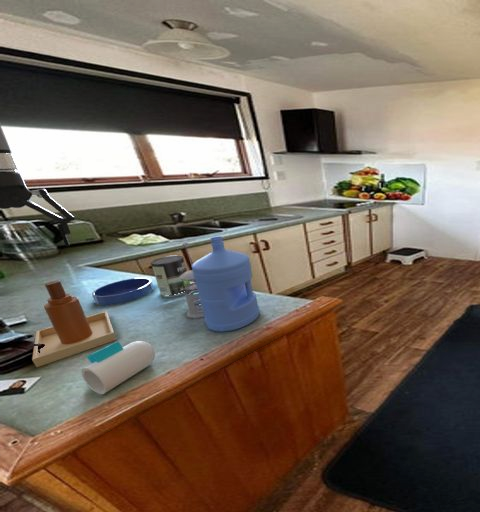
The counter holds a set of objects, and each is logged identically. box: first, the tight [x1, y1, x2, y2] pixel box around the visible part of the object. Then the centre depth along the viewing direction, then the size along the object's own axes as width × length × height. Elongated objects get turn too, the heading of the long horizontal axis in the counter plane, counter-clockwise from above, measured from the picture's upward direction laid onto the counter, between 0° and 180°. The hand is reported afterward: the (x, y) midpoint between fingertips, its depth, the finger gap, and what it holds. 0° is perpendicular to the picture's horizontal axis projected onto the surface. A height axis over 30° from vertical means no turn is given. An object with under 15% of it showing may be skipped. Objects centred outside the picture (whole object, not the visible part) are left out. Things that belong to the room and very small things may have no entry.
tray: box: [31, 310, 118, 368], centre depth 81 cm, size 15×19×2 cm
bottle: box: [43, 280, 92, 344], centre depth 78 cm, size 6×6×18 cm
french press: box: [180, 242, 205, 319], centre depth 93 cm, size 10×12×25 cm
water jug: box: [191, 236, 260, 332], centre depth 85 cm, size 16×16×28 cm
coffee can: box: [150, 255, 191, 298], centre depth 108 cm, size 10×10×14 cm
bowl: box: [91, 277, 155, 306], centre depth 107 cm, size 17×17×4 cm
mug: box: [80, 340, 156, 395], centre depth 66 cm, size 12×9×12 cm
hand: (31, 250), depth 76 cm, fingers open, 13 cm apart
